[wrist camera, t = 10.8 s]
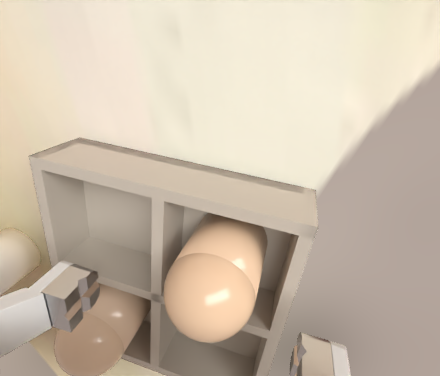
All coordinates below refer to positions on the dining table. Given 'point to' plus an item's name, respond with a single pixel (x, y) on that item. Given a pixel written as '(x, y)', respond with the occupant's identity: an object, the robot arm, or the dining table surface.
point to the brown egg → (216, 278)
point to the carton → (171, 242)
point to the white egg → (16, 257)
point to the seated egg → (101, 333)
